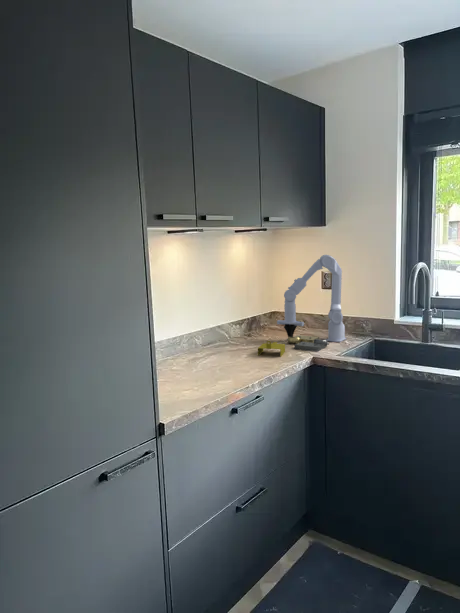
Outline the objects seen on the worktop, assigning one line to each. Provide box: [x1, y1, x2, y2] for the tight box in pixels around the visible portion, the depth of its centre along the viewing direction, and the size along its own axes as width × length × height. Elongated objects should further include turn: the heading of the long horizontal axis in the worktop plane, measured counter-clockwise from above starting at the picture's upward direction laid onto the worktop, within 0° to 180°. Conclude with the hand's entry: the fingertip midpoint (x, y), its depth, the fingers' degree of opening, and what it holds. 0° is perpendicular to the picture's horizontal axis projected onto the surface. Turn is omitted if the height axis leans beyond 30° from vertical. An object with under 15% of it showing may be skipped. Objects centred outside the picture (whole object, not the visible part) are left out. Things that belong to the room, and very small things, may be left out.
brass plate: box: [286, 334, 320, 345], centre depth 231 cm, size 13×12×3 cm
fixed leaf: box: [294, 338, 330, 352], centre depth 219 cm, size 13×12×3 cm
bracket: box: [257, 340, 286, 357], centre depth 211 cm, size 16×8×15 cm
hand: (290, 338), depth 237 cm, fingers closed
